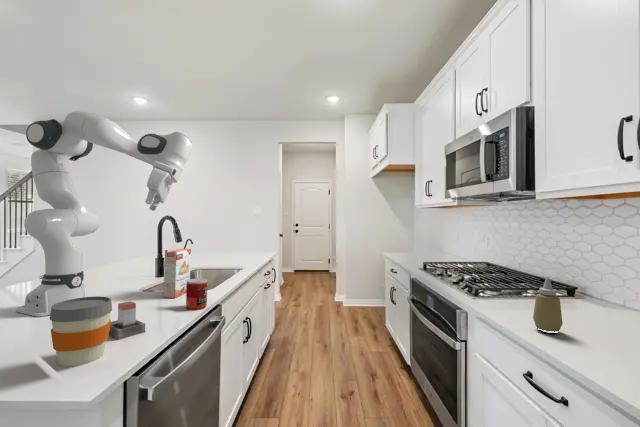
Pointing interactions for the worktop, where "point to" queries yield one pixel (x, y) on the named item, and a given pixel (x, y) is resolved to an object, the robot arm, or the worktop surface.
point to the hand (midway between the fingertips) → (149, 207)
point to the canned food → (196, 294)
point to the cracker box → (176, 272)
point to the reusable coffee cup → (80, 329)
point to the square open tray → (126, 330)
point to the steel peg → (126, 314)
